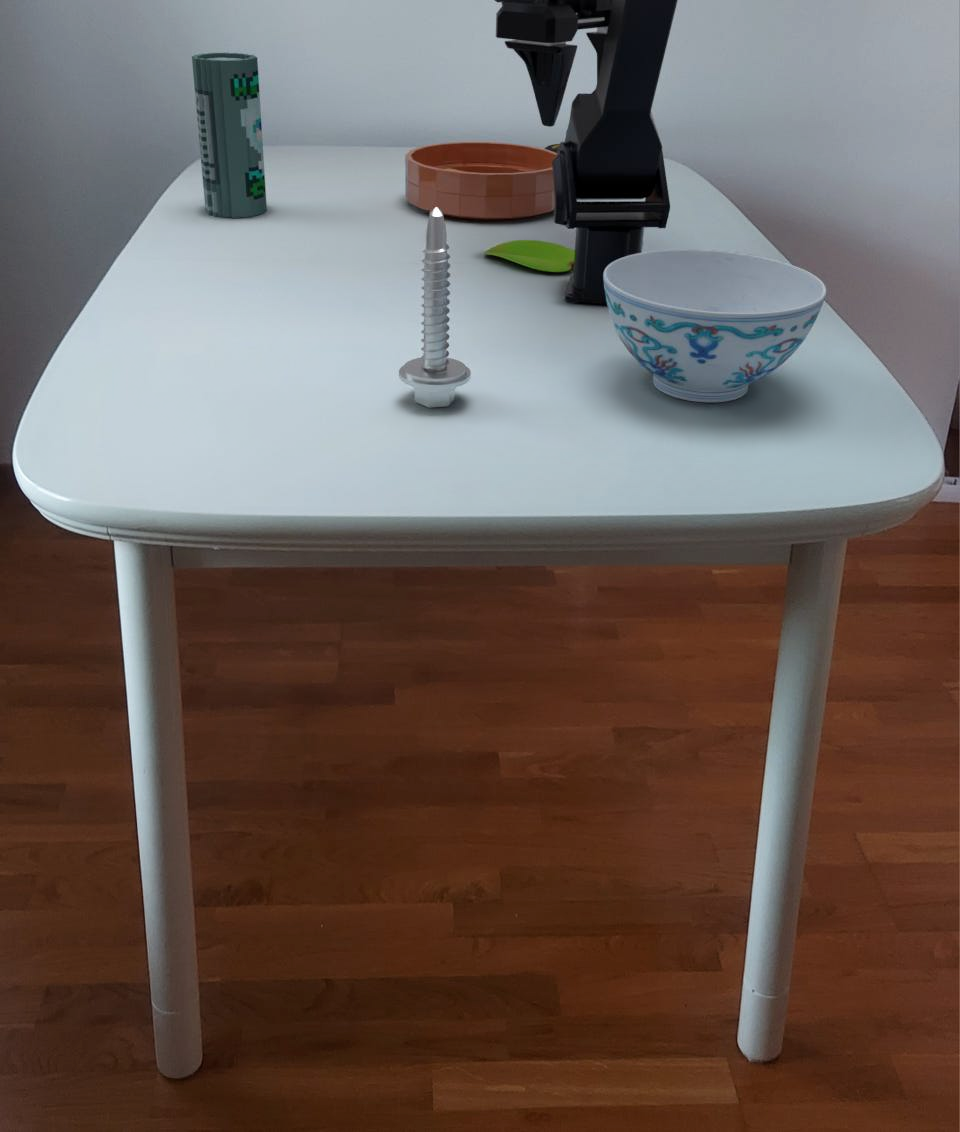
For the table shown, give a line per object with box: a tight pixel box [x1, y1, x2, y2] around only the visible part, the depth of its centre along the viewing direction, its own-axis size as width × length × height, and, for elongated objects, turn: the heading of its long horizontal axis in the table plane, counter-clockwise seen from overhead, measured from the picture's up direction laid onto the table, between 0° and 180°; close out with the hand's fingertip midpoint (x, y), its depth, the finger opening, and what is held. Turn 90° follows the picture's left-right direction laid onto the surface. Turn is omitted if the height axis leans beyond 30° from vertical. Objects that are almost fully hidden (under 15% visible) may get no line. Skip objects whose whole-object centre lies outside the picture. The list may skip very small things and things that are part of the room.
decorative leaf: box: [483, 239, 575, 273], centre depth 110 cm, size 8×9×1 cm
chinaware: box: [603, 248, 827, 404], centre depth 82 cm, size 15×15×8 cm
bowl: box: [404, 141, 557, 221], centre depth 128 cm, size 17×17×5 cm
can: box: [191, 52, 268, 219], centre depth 120 cm, size 6×6×15 cm
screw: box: [398, 207, 472, 409], centre depth 77 cm, size 13×5×5 cm
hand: (576, 120), depth 109 cm, fingers open, 9 cm apart
